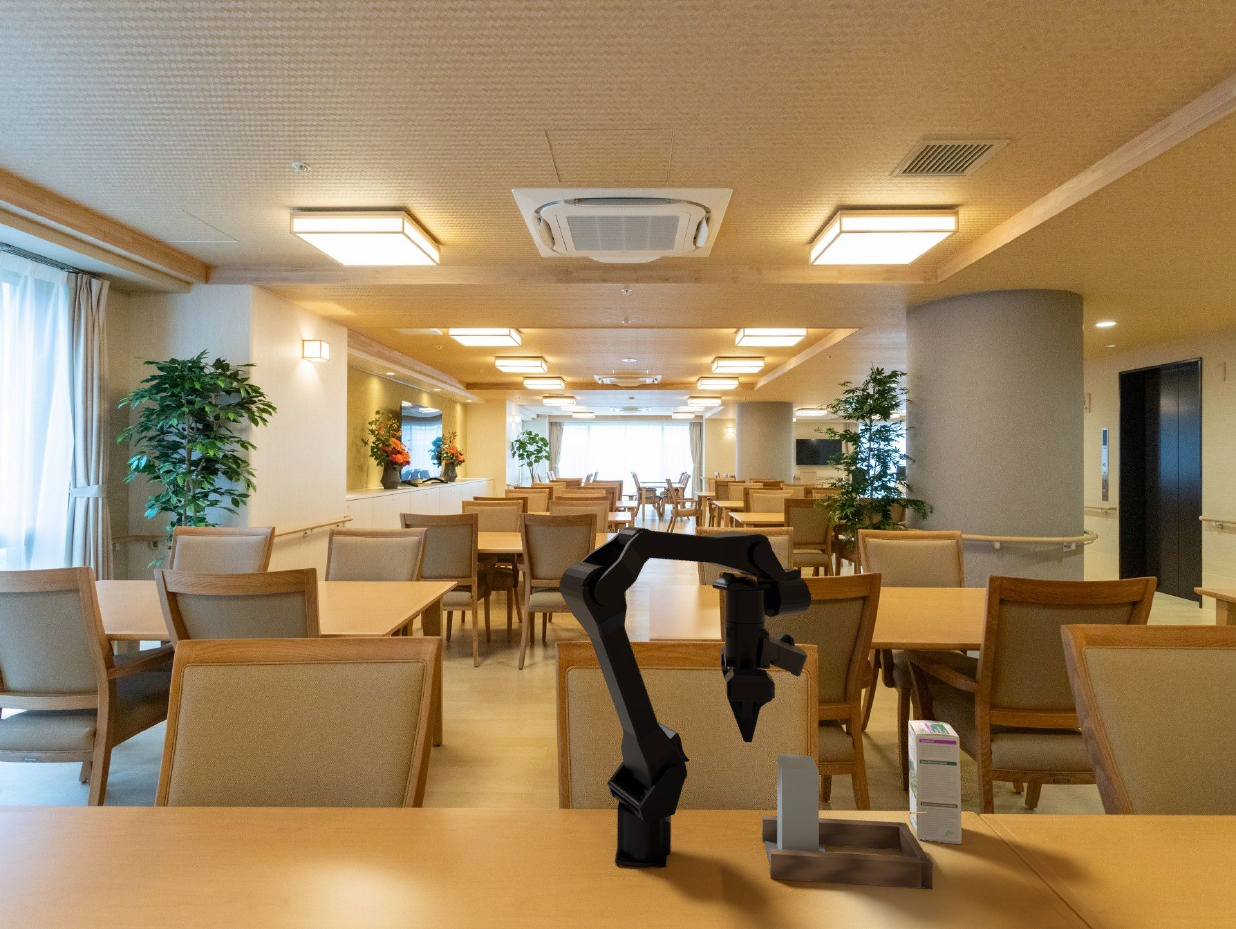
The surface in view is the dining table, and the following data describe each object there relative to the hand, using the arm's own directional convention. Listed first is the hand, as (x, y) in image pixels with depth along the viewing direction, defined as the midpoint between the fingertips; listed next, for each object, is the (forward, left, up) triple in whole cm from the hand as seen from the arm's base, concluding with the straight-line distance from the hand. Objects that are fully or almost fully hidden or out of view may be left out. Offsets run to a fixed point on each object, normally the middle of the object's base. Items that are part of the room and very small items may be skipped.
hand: (744, 729), depth 99 cm
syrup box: (+26, 0, -13) cm, 29 cm away
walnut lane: (+11, -9, -13) cm, 20 cm away
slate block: (+6, -9, -13) cm, 17 cm away
